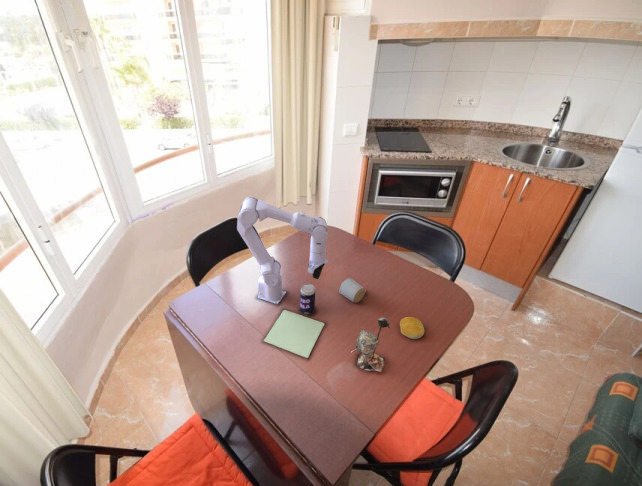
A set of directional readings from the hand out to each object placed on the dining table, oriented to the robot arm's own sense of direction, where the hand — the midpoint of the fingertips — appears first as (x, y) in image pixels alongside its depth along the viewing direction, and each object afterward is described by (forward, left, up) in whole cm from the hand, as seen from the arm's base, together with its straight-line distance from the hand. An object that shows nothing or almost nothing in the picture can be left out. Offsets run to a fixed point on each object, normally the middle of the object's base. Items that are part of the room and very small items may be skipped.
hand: (316, 277), depth 128 cm
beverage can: (0, -9, -11) cm, 14 cm away
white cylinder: (+14, +7, -11) cm, 19 cm away
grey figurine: (+27, -22, -11) cm, 36 cm away
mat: (0, -21, -10) cm, 23 cm away
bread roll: (+38, -2, -11) cm, 40 cm away
